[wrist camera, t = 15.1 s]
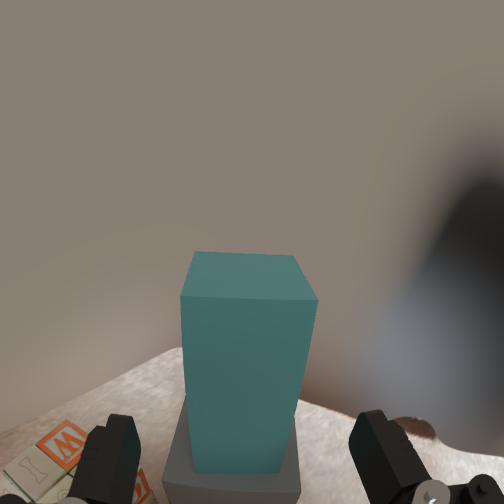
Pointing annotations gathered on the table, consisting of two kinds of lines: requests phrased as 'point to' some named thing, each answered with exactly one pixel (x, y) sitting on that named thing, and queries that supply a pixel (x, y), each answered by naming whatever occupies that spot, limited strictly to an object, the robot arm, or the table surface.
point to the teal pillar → (243, 357)
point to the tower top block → (227, 476)
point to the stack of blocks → (55, 469)
